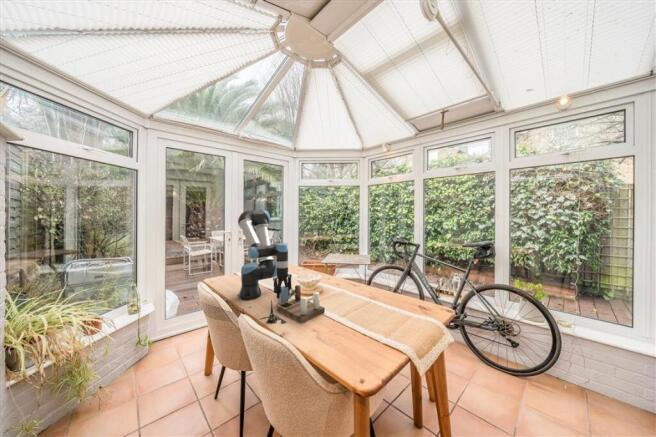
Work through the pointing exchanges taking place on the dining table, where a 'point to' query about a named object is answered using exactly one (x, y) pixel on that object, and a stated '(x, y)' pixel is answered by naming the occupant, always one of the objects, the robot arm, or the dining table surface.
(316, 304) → the hinged leg
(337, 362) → the dining table surface
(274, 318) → the eiffel tower figurine
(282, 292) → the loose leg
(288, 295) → the ceramic sculpture
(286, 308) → the stool seat
